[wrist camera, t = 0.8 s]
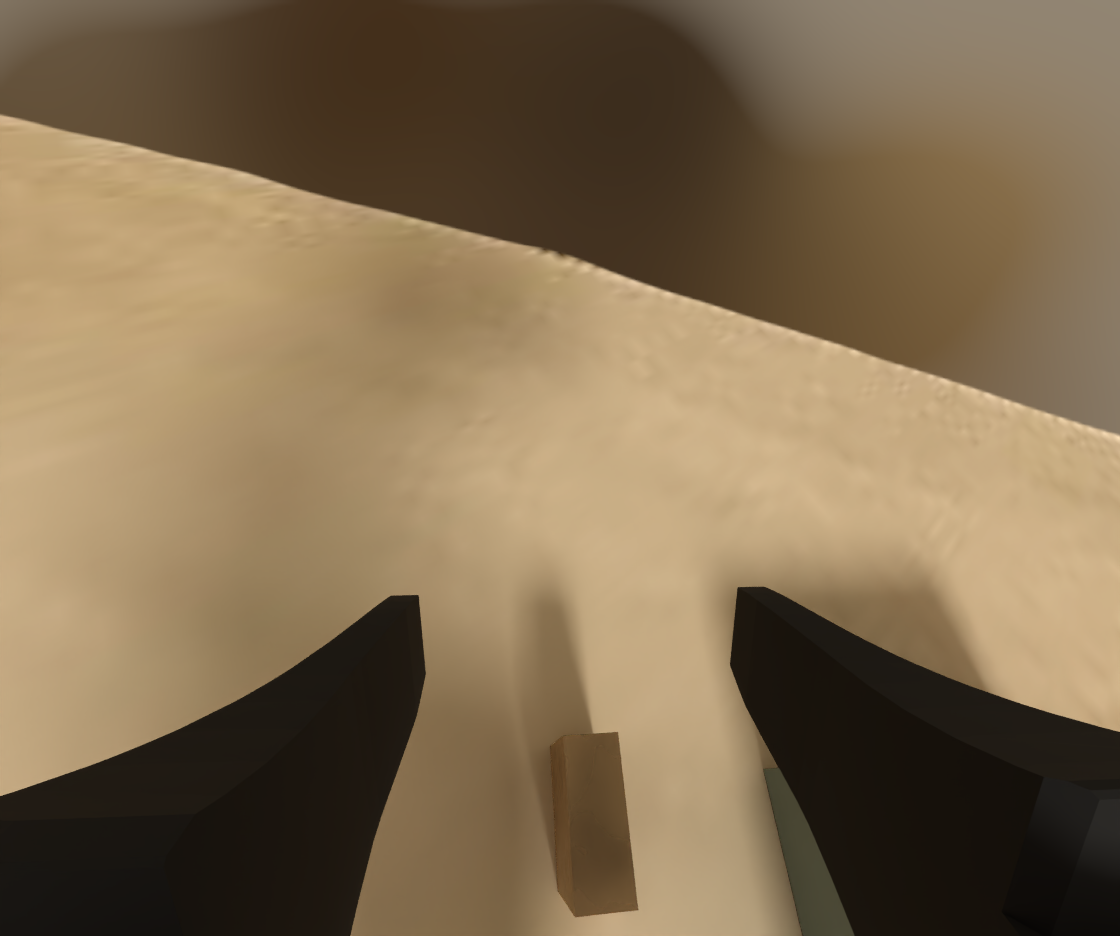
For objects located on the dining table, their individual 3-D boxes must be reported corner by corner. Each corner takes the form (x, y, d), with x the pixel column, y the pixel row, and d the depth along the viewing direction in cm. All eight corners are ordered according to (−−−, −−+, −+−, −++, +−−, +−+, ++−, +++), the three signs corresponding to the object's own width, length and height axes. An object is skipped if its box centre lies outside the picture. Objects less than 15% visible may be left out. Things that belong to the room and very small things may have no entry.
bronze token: (608, 885, 21) (638, 910, 16) (557, 891, 20) (575, 917, 16) (594, 742, 23) (618, 732, 19) (550, 746, 23) (563, 735, 19)
